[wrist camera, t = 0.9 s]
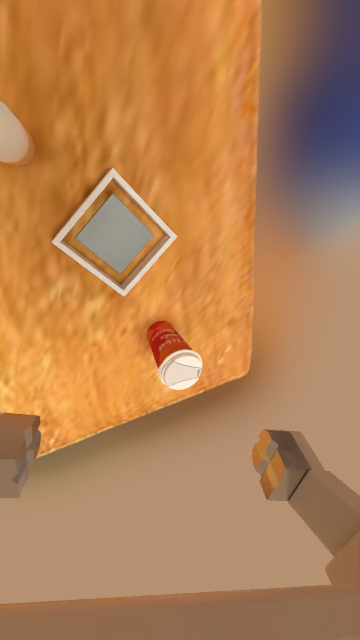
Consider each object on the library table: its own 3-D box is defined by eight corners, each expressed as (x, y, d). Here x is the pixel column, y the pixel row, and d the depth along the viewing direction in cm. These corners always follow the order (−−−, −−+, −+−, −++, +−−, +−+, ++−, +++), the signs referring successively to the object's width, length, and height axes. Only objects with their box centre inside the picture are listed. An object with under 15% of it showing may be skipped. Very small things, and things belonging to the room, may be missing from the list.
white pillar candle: (-19, 141, 32) (-60, 122, 22) (5, 109, 32) (-26, 74, 22) (20, 175, 35) (-1, 171, 25) (43, 145, 35) (31, 129, 25)
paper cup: (180, 317, 54) (209, 353, 42) (173, 348, 57) (199, 390, 45) (144, 315, 51) (165, 354, 39) (138, 349, 54) (156, 394, 42)
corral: (52, 238, 40) (51, 242, 37) (110, 168, 38) (112, 167, 36) (121, 290, 47) (124, 296, 45) (171, 233, 46) (177, 236, 43)
